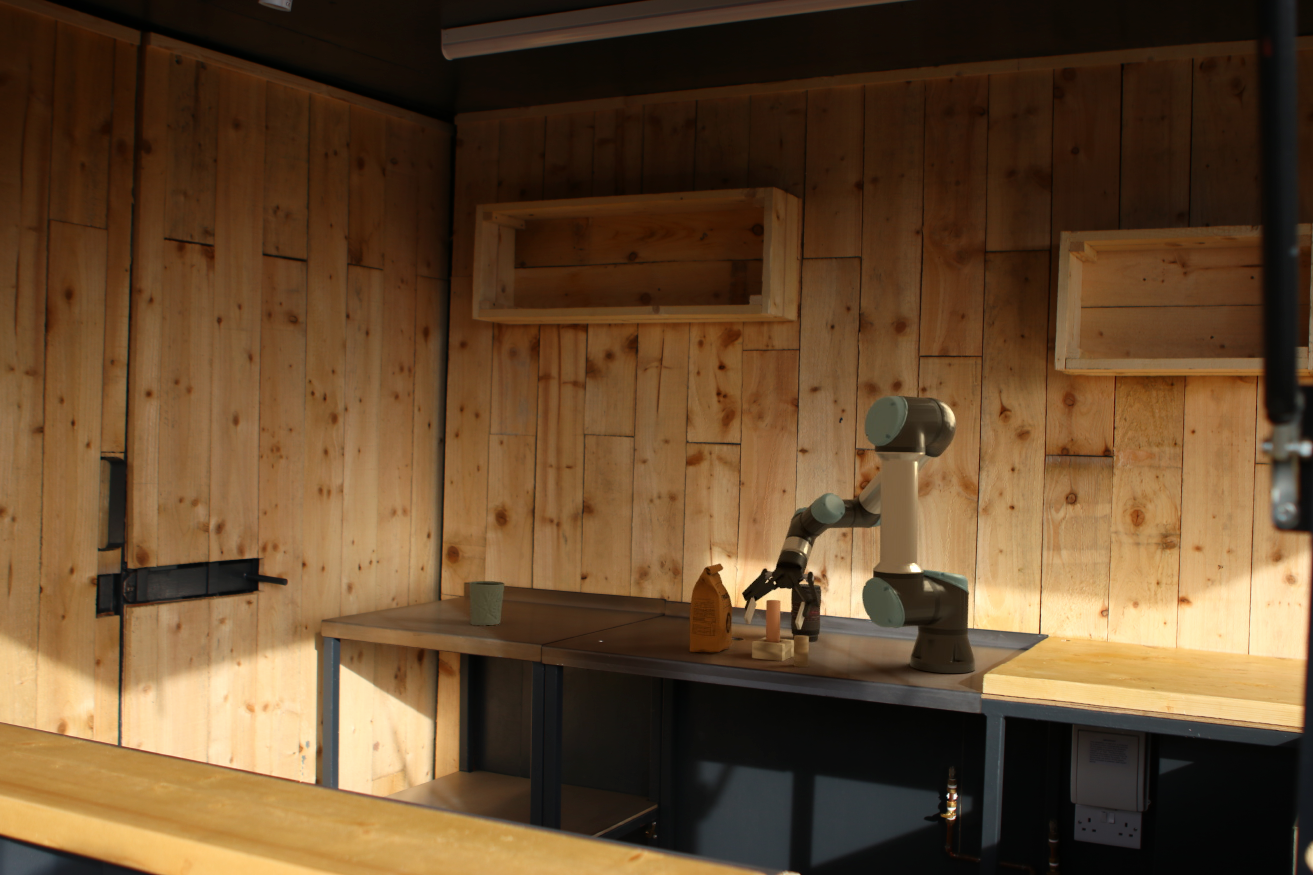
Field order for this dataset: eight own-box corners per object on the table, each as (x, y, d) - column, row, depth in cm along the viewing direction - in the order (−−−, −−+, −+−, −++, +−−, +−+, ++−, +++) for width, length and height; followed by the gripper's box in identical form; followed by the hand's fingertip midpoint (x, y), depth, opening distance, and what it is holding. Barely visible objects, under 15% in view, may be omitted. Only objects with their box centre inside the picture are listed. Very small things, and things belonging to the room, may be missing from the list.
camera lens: (819, 642, 300) (820, 587, 300) (789, 641, 302) (790, 586, 302) (821, 638, 308) (822, 583, 308) (792, 636, 310) (792, 582, 310)
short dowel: (810, 665, 268) (810, 636, 268) (805, 667, 265) (805, 638, 265) (796, 663, 270) (797, 634, 270) (791, 666, 267) (791, 636, 267)
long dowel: (781, 656, 279) (782, 600, 279) (776, 658, 276) (777, 602, 276) (768, 655, 281) (769, 599, 281) (763, 657, 278) (764, 601, 278)
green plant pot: (463, 622, 326) (463, 581, 326) (494, 620, 331) (495, 579, 331) (477, 627, 317) (478, 585, 317) (509, 624, 323) (510, 583, 323)
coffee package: (738, 648, 290) (739, 563, 290) (719, 656, 278) (721, 568, 279) (702, 645, 294) (704, 561, 294) (683, 652, 283) (684, 565, 283)
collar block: (793, 656, 280) (793, 640, 280) (782, 660, 273) (782, 644, 273) (764, 652, 284) (764, 637, 284) (752, 657, 277) (752, 641, 277)
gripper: (842, 570, 288) (823, 637, 274) (753, 564, 299) (730, 628, 286) (836, 551, 283) (816, 618, 270) (745, 546, 295) (722, 610, 281)
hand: (771, 623), depth 278 cm, fingers open, 13 cm apart
